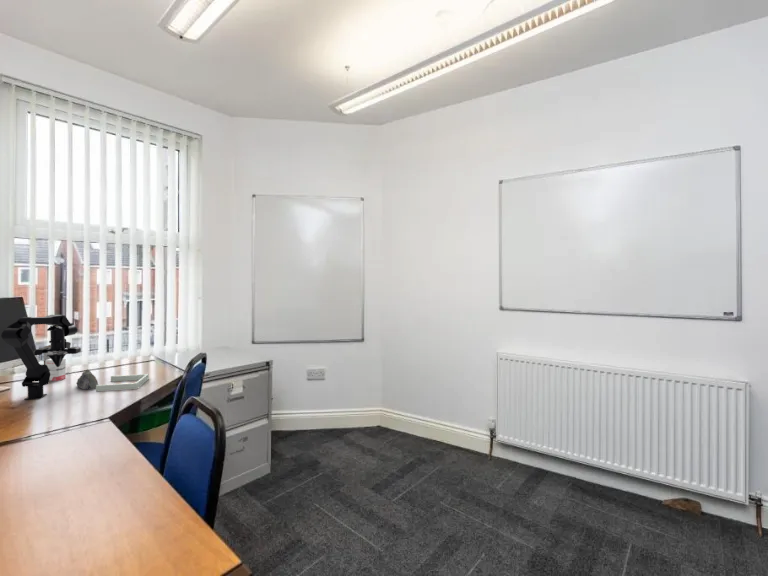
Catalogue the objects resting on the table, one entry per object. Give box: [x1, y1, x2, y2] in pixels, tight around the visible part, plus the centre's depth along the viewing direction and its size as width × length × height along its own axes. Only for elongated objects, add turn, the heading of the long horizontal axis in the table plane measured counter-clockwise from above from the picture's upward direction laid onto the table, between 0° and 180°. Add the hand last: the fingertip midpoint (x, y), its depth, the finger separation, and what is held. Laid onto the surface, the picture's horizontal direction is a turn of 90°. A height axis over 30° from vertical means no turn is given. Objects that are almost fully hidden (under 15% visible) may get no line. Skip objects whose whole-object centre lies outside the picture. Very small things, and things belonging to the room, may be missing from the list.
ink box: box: [45, 358, 67, 382], centre depth 218 cm, size 9×5×12 cm, turn 84°
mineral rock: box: [76, 369, 99, 390], centre depth 205 cm, size 13×11×10 cm
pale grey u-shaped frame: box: [95, 373, 150, 392], centre depth 210 cm, size 19×19×3 cm
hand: (58, 366), depth 201 cm, fingers closed
